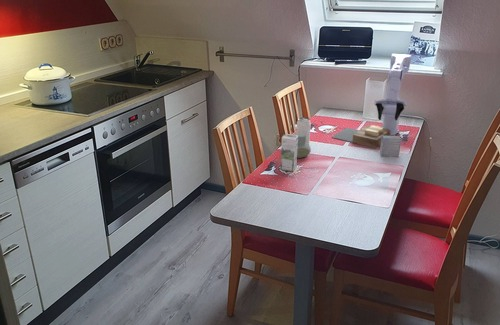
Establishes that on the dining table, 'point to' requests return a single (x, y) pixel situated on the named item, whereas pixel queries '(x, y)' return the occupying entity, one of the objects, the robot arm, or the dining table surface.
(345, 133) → the mat
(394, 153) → the medicine box
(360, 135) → the brown shallow box
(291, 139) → the syrup box
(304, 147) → the air freshener
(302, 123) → the can
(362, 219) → the dining table surface
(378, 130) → the tile
